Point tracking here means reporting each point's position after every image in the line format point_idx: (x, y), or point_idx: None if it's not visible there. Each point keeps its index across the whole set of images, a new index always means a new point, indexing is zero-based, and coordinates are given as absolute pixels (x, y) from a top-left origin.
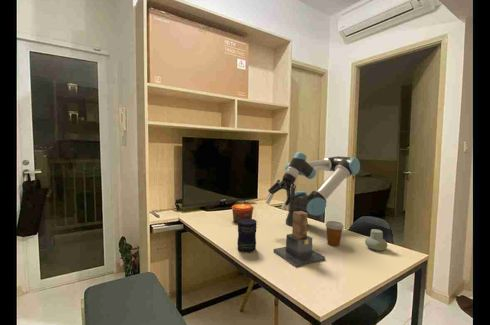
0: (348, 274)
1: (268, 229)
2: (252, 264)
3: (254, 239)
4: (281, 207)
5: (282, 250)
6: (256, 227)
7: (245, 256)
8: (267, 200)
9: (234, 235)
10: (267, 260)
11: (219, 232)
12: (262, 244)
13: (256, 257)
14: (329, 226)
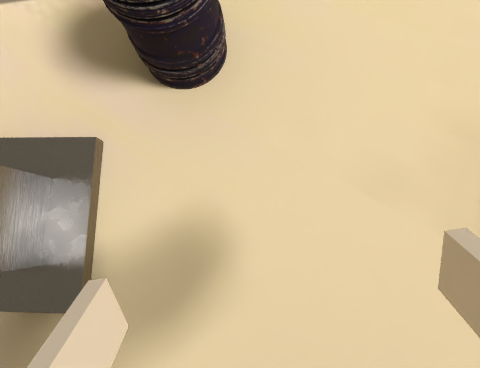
0: None
1: (393, 300)
2: (54, 12)
3: (130, 36)
4: (97, 291)
5: (62, 165)
6: (116, 8)
7: None
8: (476, 262)
9: (365, 67)
10: (51, 76)
11: (436, 14)
12: (197, 139)
13: (94, 50)
14: None
